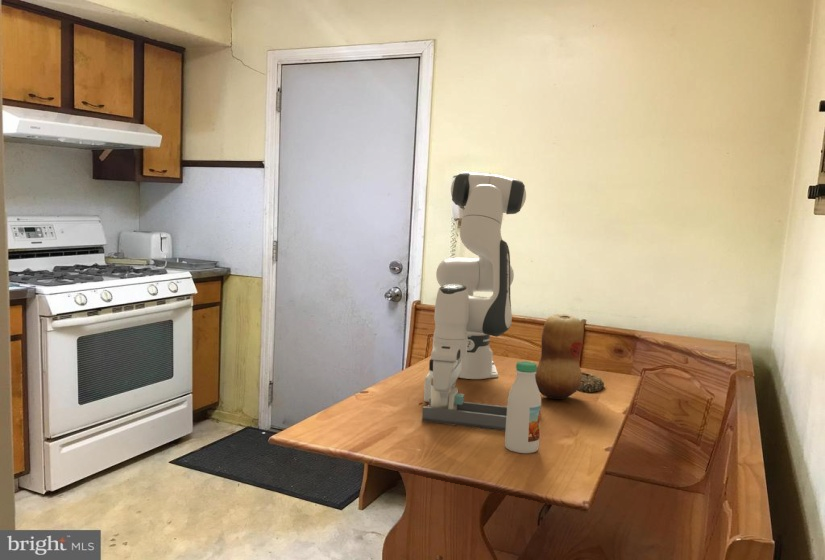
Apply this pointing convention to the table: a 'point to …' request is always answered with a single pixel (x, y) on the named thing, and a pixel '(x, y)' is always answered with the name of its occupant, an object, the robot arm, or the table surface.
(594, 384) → the grey speckled flat mound
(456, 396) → the pusher
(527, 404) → the milk bottle
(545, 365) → the butternut squash
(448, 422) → the lane
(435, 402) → the jar
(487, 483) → the table surface
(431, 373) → the medicine bottle
